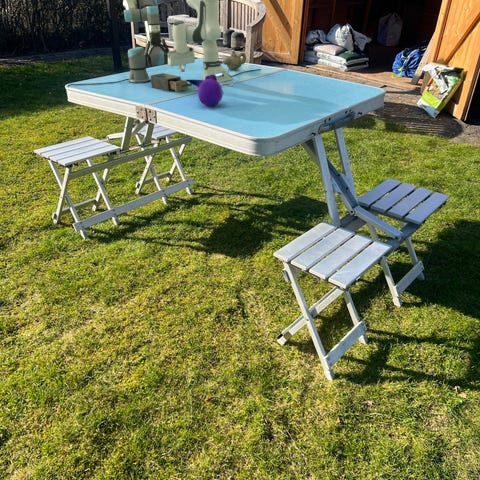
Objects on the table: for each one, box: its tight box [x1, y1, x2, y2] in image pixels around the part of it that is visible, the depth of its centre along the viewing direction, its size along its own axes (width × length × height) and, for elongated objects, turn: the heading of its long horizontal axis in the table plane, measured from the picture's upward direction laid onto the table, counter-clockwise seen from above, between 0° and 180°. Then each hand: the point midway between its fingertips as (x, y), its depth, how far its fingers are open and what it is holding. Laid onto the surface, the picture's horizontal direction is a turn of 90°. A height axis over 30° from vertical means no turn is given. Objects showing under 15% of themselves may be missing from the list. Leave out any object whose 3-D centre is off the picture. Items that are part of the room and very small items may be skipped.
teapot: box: [222, 50, 247, 71], centre depth 368 cm, size 21×12×15 cm, turn 120°
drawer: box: [169, 78, 193, 92], centre depth 307 cm, size 24×10×6 cm, turn 44°
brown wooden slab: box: [150, 72, 182, 92], centre depth 314 cm, size 20×11×8 cm, turn 44°
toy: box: [185, 75, 224, 107], centre depth 270 cm, size 16×18×27 cm
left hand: (158, 65), depth 313 cm, fingers open, 13 cm apart
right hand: (182, 71), depth 297 cm, fingers closed
